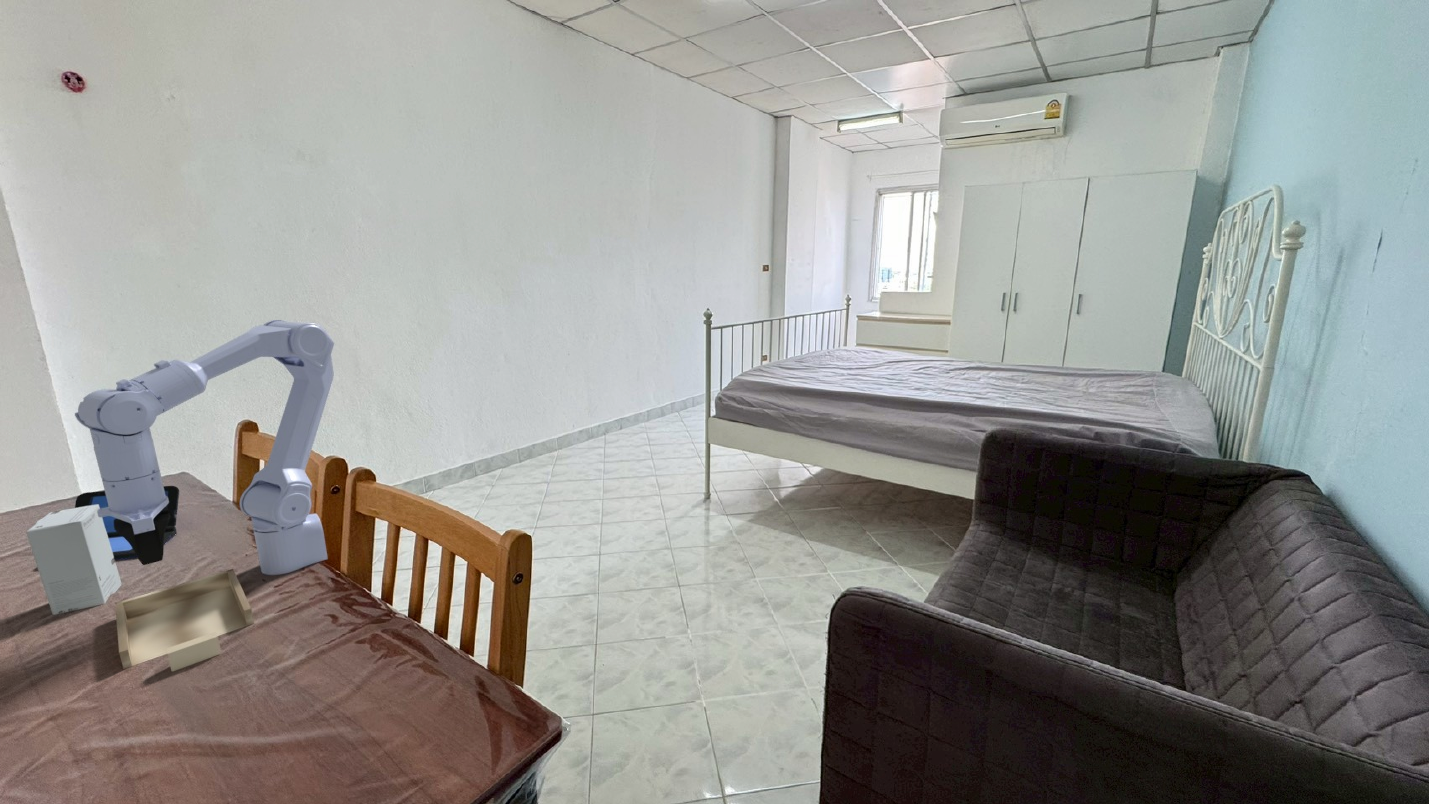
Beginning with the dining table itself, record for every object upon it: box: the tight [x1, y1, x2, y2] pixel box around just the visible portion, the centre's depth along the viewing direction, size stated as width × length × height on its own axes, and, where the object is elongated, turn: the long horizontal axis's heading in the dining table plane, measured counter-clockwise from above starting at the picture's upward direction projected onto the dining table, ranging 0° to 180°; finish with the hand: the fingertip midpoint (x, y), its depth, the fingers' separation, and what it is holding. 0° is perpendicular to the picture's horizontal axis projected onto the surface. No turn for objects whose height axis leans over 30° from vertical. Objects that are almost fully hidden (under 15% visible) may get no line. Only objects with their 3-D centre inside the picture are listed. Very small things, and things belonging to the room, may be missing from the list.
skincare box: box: [25, 504, 122, 616], centre depth 88 cm, size 8×6×15 cm
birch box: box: [114, 568, 255, 670], centre depth 84 cm, size 14×16×4 cm
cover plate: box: [166, 632, 222, 673], centre depth 74 cm, size 10×8×4 cm
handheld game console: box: [74, 485, 180, 561], centre depth 106 cm, size 16×13×9 cm
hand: (152, 561), depth 82 cm, fingers closed
